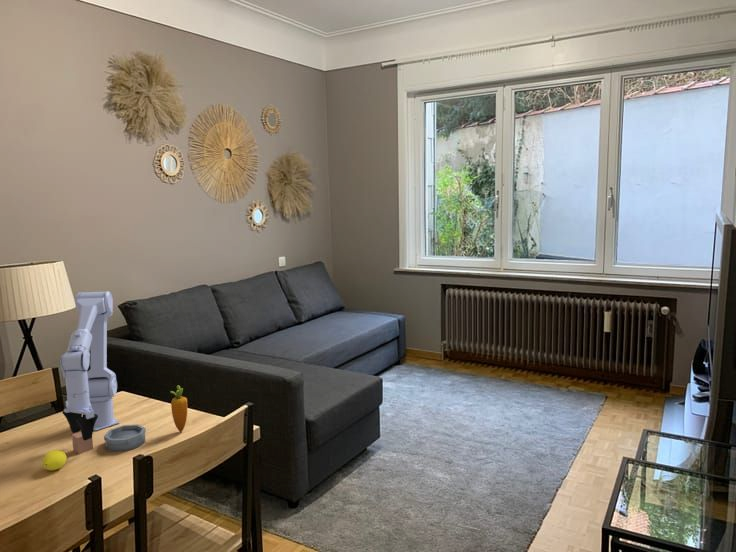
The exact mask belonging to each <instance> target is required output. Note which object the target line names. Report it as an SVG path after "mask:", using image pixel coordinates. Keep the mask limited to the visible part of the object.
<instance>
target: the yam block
mask: <svg viewBox="0 0 736 552" xmlns="http://www.w3.org/2000/svg"><path fill="white" fill-rule="evenodd" d="M71 437H72V449H73V450H72V451H74V452H75V453H77V454H78V455H82V454H84V453H87V452H89V451H92V450H94V443H93V442H94V441H93V437H92V438H91V439H88V440H83V437H82V433H81V431H80V432H77V433H72V434H71Z"/></svg>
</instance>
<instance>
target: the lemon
mask: <svg viewBox="0 0 736 552" xmlns="http://www.w3.org/2000/svg"><path fill="white" fill-rule="evenodd" d="M66 462H67V455H66V453H65V451H63V450H60V449H53V450H51V451H49V452H47V453H46V454H45V455H44V457H43V459H42V466H43V467H44V469H45V470H47V471H56V470H60V469H61V468H62V467H64V466H65V464H66Z"/></svg>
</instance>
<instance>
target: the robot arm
mask: <svg viewBox="0 0 736 552" xmlns="http://www.w3.org/2000/svg"><path fill="white" fill-rule="evenodd" d="M74 302H75V308H76V311H77V312H78V314H79V315H78V322H77V327H76V330H74V331H73V332H72V333H71V335H70V339H69V342H68V346H67V349H66V352H65V353H63V354H62V355H61V357H60V361H59V362H60V363H59V365H60V370H61V372H62V376H63V378H64V380H65V387H66V389H65V390H66V399H67V400H66V401H64V402H65V407H66V408H64V409H63V411H61V412H62V413H61V414H62V415H63V416H64V417H65V418H66V419H65V420H66V421H67V422H68V426H69V428H70V431H71V433H72V434H75V433H78V432H81V433H82V437H83V440H88V439H91V438H92V439H93V433H94V431H95V432H96V431H99V430H103V429H105V428H109V427H110V426H111V427H112V426H114V425H117V424H118V425H119V423H120V421H119V420H117V419H115V418H114V417H115V416H114V415H115V414H114V403H113V397H115V395H116V394H117V390H118V381H117V375H116V373H115V372H114V371H113V370H111V369H109V368H108V367H107V366H108V365H107V364H108V362H107V359H108V358H107V357H108V355H107V351H108V350H107V349H108V348H107V347H108V341H107V340H108V338H107V337H108V334H107V333H108V332H107V331H108V318H111V317H112V316H113V311H114V299H113V295H112V293H111V292H110V291H108V290H107V291H92V292H91V291H90V292H89V291H88V292H86V291H85V292H83V291H79V292H78V293H76V296H75V301H74ZM89 367H90V369H89ZM88 369H89V370H88Z"/></svg>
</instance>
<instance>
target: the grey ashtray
mask: <svg viewBox="0 0 736 552" xmlns="http://www.w3.org/2000/svg"><path fill="white" fill-rule="evenodd" d="M146 432H147V430H146V427H145V426H143V425H141V424H137V423H136V424H123V425H119V426H117V427H114V428H111V429H109V430H108V431H107V432H106V433H105V434H103V440H104V442H105V448H106V450H107V451H110V452H115V453H117V452H118V453H119V452H121V453H122V452H128V451H131V450H135V449H136V448H140V447H141V446H143V445H144V444H145V442H146Z"/></svg>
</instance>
